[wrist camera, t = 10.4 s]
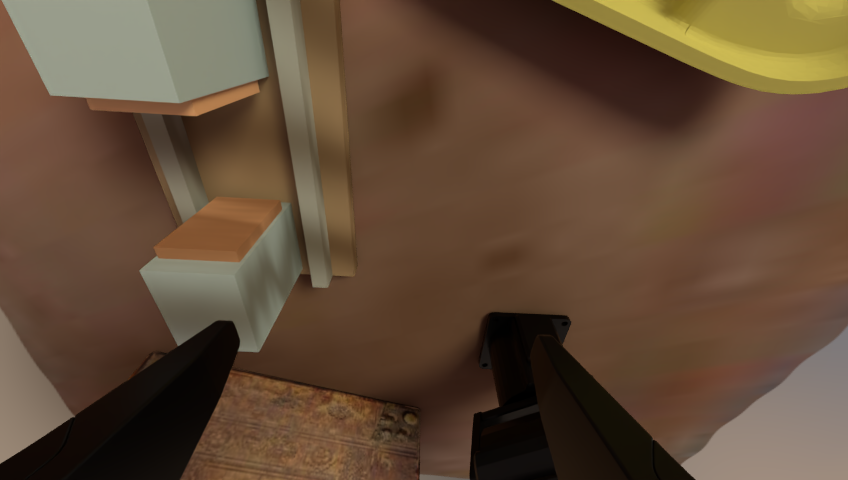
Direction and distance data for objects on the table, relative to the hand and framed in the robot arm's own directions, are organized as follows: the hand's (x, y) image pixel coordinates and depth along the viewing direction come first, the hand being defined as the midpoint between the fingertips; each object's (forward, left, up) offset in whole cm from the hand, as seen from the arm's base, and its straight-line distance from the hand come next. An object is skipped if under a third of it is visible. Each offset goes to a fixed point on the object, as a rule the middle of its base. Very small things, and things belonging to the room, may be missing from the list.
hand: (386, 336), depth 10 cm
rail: (+2, +9, -12) cm, 16 cm away
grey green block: (+8, +9, -11) cm, 16 cm away
